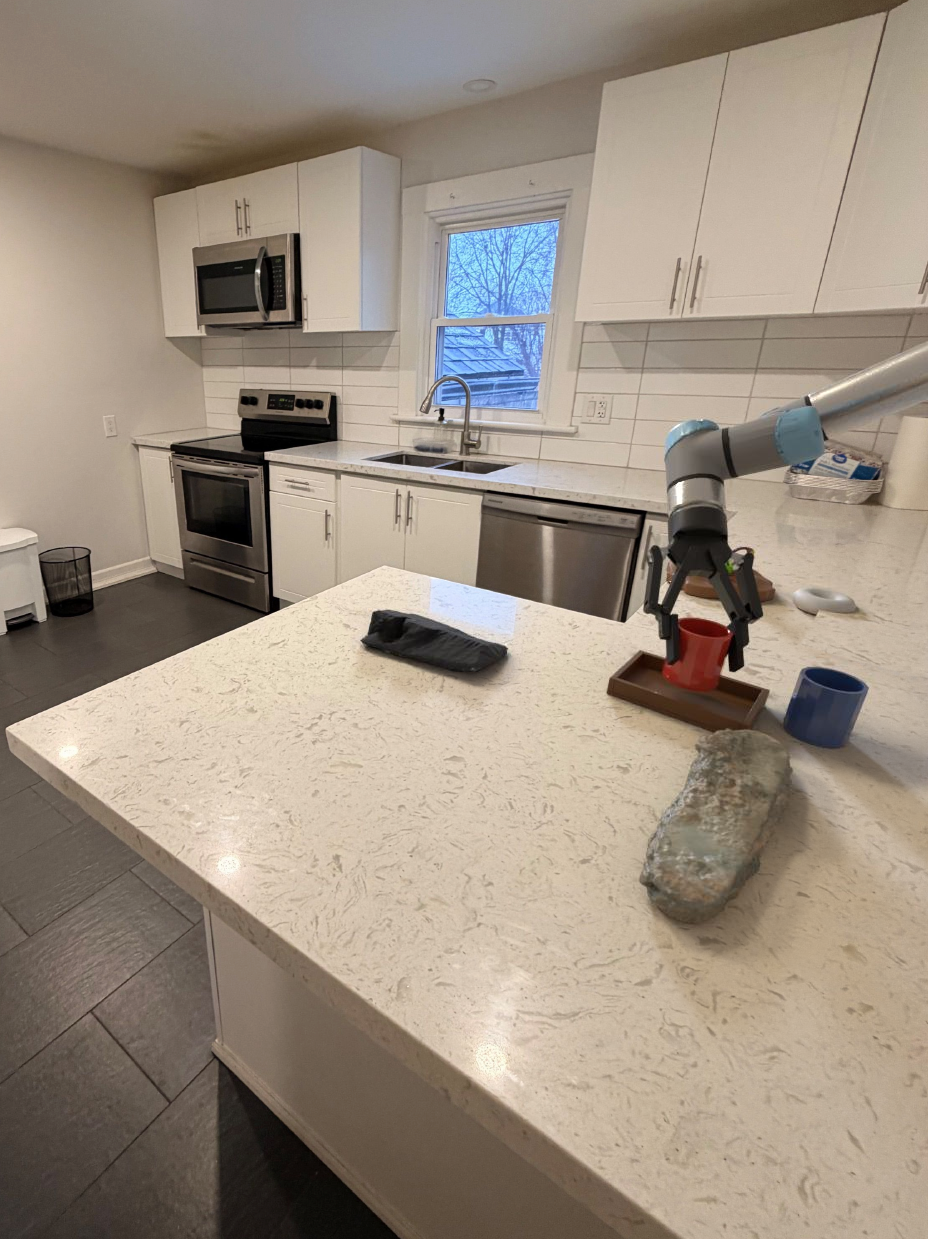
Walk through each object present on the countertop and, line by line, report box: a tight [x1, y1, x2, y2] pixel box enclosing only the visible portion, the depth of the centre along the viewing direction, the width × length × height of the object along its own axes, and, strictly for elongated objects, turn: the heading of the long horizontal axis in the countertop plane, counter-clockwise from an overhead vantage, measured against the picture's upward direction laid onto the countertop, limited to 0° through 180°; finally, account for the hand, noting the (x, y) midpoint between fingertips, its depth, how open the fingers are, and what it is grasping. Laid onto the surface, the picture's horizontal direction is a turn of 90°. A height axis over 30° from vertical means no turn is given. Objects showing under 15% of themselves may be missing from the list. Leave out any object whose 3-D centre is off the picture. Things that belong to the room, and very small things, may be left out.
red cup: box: [662, 616, 734, 691], centre depth 89 cm, size 7×7×8 cm
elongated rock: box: [638, 728, 794, 925], centre depth 67 cm, size 35×5×10 cm
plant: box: [665, 546, 776, 602], centre depth 134 cm, size 20×20×11 cm
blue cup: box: [782, 666, 870, 749], centre depth 83 cm, size 7×7×8 cm
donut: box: [791, 586, 857, 616], centre depth 123 cm, size 10×4×10 cm
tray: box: [605, 649, 771, 733], centre depth 91 cm, size 18×13×3 cm
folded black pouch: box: [359, 609, 509, 672], centre depth 104 cm, size 15×22×5 cm
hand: (704, 665), depth 86 cm, fingers closed on red cup, 7 cm apart
